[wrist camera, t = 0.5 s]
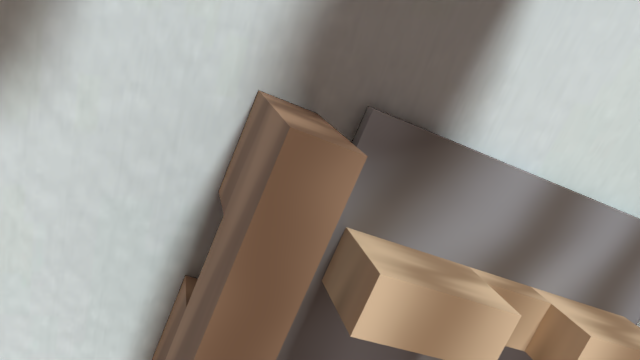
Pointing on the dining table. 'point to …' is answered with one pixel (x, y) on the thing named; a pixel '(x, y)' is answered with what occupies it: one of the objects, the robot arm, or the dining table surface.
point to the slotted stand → (467, 262)
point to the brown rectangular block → (264, 236)
